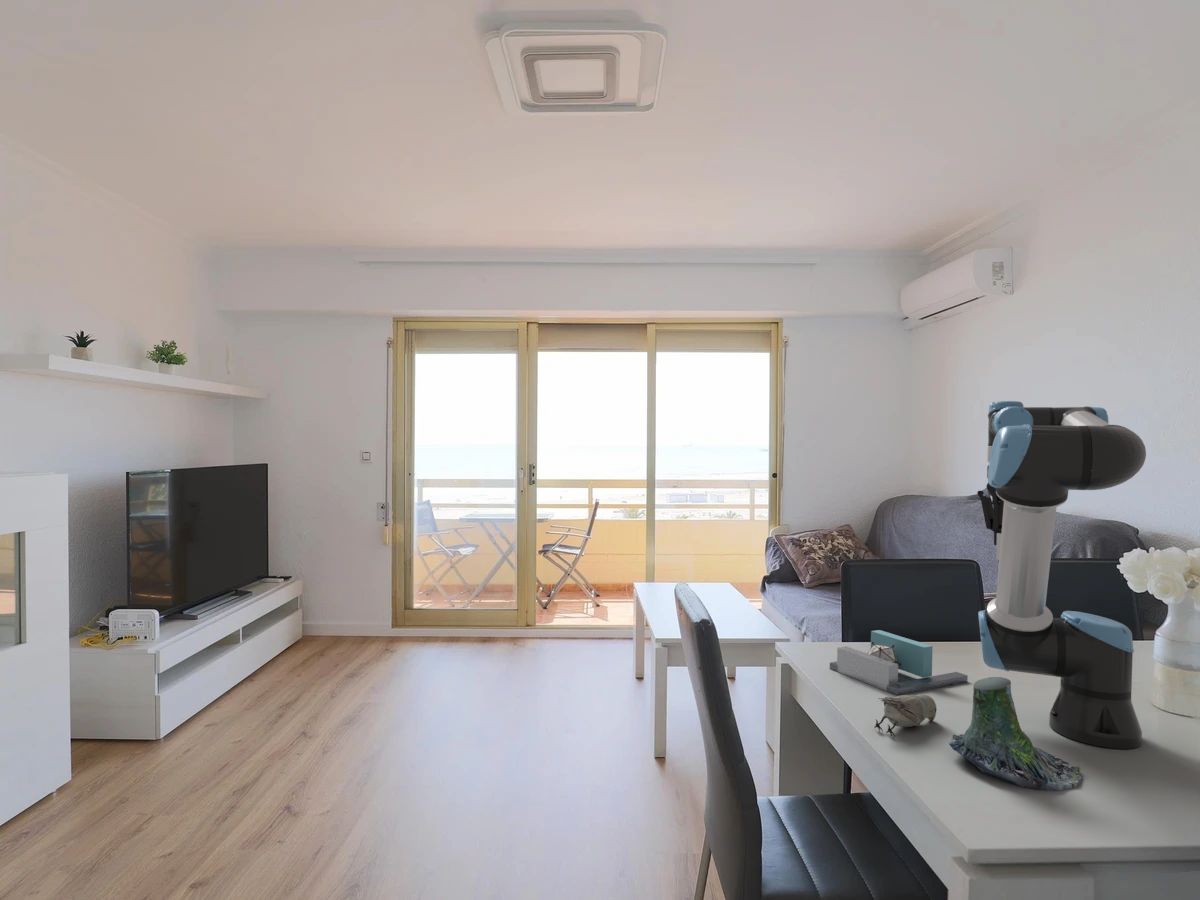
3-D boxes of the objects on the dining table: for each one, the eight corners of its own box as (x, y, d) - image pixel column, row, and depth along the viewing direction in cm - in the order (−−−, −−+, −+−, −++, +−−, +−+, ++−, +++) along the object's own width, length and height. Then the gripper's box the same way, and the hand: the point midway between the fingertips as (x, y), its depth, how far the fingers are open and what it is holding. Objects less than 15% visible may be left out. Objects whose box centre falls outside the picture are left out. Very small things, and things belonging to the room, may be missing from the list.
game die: (883, 694, 172) (879, 668, 167) (857, 672, 179) (853, 646, 174) (910, 673, 174) (907, 647, 169) (883, 653, 181) (880, 627, 176)
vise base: (967, 681, 171) (967, 656, 171) (897, 695, 161) (897, 669, 161) (896, 657, 190) (897, 635, 190) (829, 668, 180) (830, 644, 180)
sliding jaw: (931, 676, 170) (932, 646, 169) (923, 677, 168) (923, 647, 168) (878, 657, 184) (879, 629, 184) (870, 658, 183) (871, 631, 182)
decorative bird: (944, 725, 144) (945, 689, 144) (893, 741, 136) (893, 702, 136) (920, 716, 149) (921, 681, 149) (869, 731, 141) (870, 694, 141)
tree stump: (1107, 802, 114) (1082, 694, 114) (975, 816, 118) (951, 712, 118) (1058, 749, 132) (1037, 656, 132) (945, 763, 136) (924, 672, 136)
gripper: (1040, 465, 170) (1038, 562, 170) (989, 463, 182) (987, 554, 182) (1020, 464, 167) (1018, 564, 167) (970, 463, 178) (968, 556, 179)
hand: (1002, 559), depth 174 cm, fingers closed
